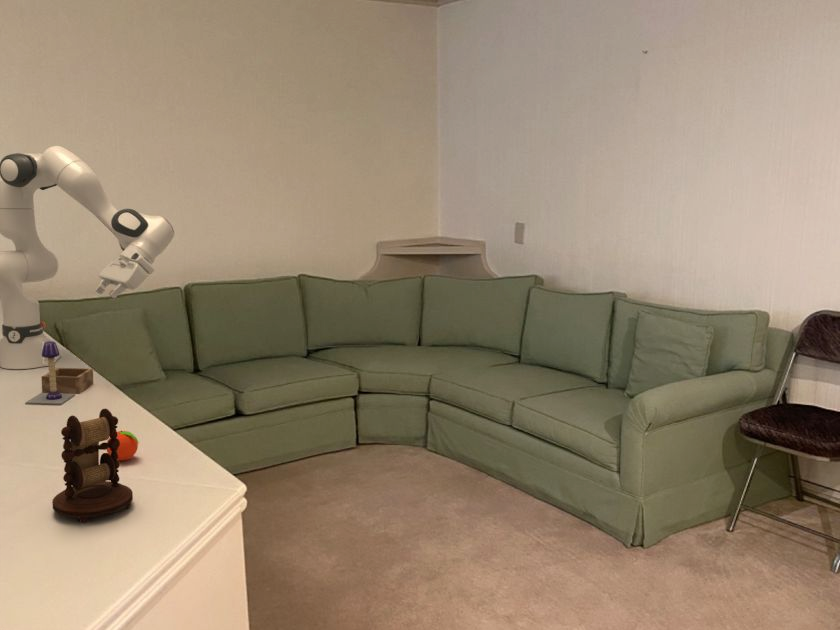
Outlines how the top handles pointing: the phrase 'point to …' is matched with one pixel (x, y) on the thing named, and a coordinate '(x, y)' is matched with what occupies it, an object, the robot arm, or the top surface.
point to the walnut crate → (69, 380)
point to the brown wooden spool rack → (91, 469)
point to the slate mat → (42, 400)
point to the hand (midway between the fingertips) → (104, 294)
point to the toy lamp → (51, 368)
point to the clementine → (125, 445)
